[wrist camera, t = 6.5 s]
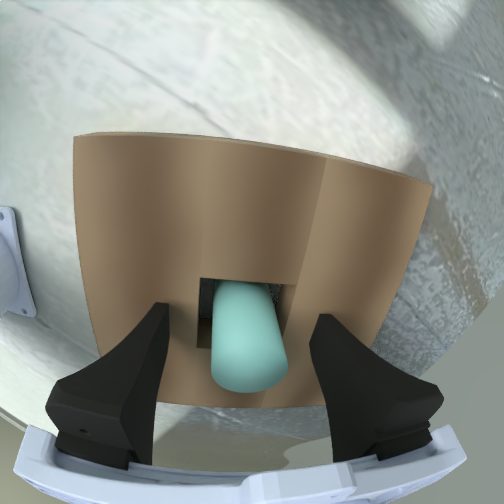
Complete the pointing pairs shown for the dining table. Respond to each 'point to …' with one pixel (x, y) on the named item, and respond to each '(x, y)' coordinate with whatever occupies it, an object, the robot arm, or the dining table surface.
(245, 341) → the peg
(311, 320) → the socket board
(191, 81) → the dining table surface
